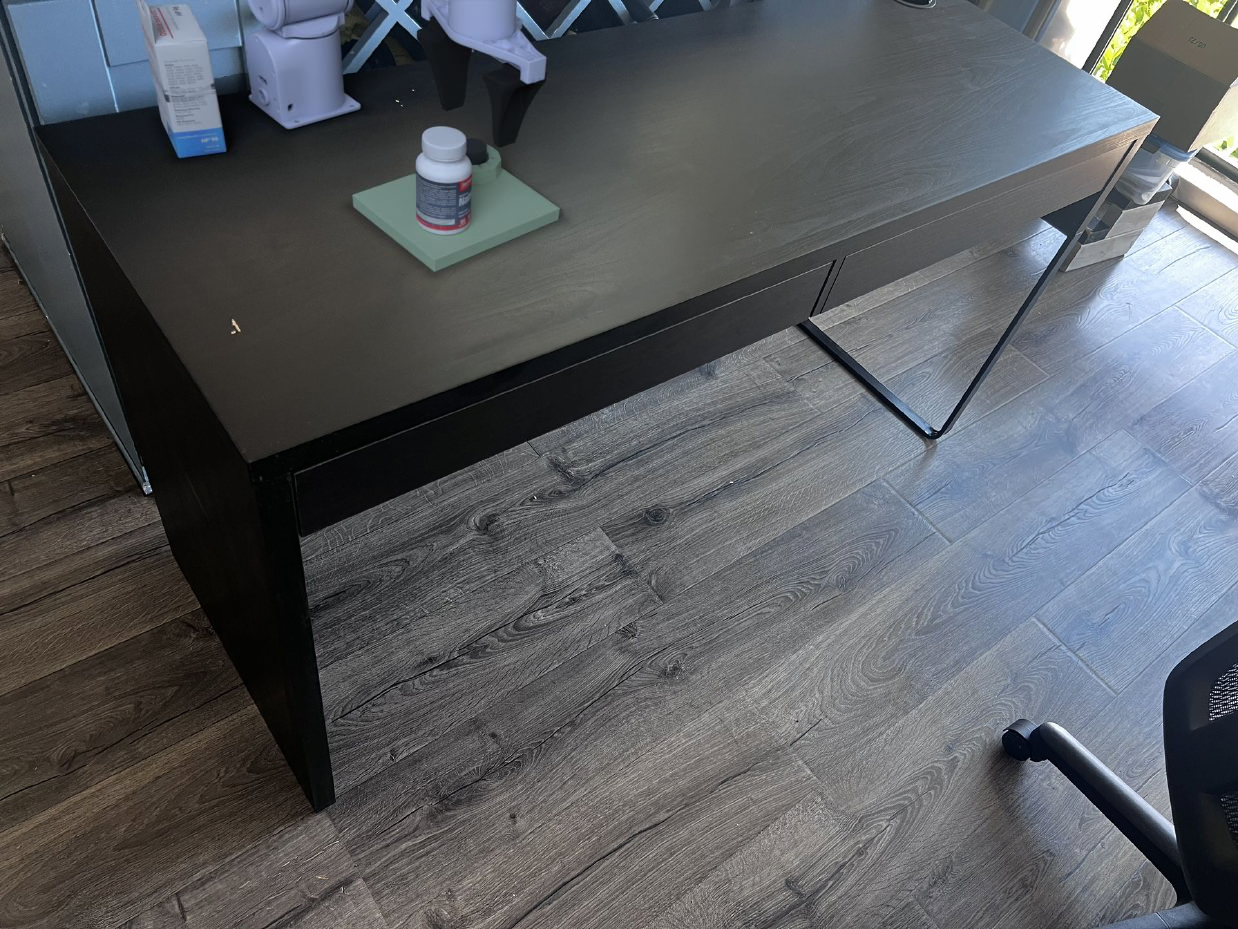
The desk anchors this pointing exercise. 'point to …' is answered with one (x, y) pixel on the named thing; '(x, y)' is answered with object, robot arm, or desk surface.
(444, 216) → the pill bottle
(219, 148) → the ink box
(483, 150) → the button
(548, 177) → the desk surface
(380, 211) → the green flat slab
